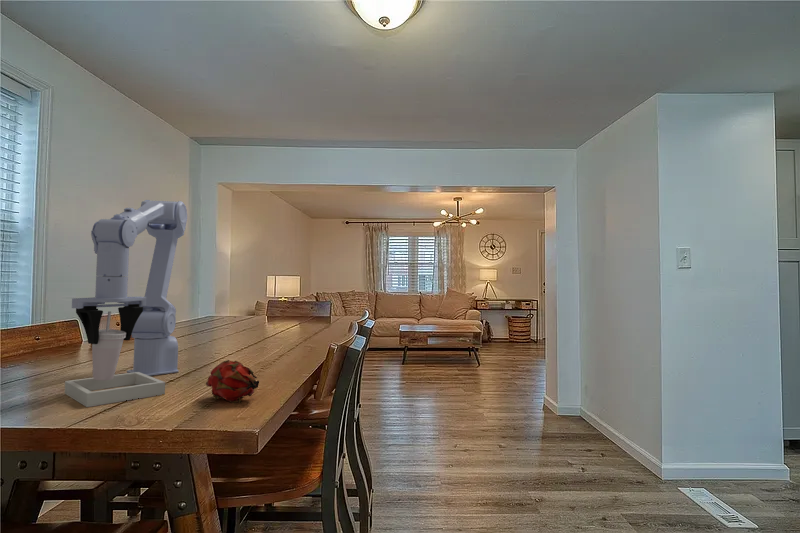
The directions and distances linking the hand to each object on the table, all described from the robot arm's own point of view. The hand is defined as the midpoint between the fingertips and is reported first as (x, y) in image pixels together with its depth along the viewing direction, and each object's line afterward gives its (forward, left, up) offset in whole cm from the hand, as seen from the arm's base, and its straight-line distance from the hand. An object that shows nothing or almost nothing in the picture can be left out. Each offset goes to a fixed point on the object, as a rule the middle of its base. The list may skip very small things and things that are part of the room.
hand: (109, 341), depth 99 cm
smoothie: (0, -1, -8) cm, 8 cm away
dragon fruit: (-16, +22, -11) cm, 29 cm away
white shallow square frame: (-1, +2, -10) cm, 11 cm away
